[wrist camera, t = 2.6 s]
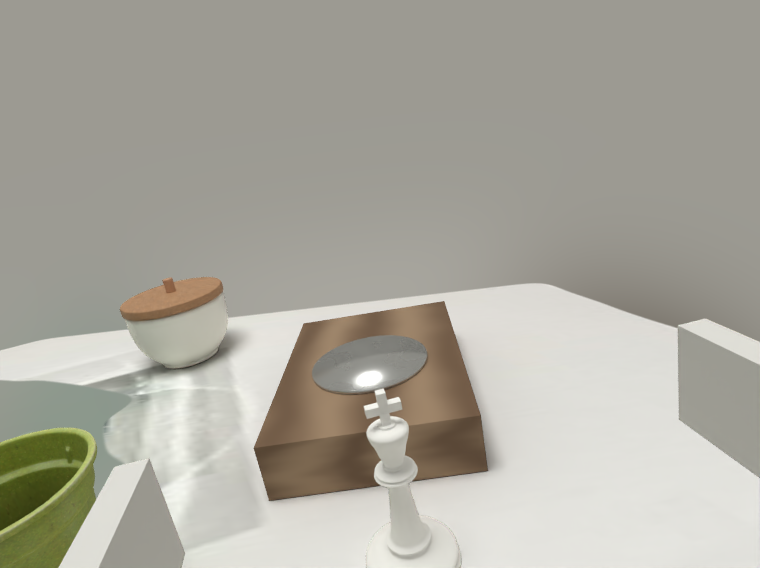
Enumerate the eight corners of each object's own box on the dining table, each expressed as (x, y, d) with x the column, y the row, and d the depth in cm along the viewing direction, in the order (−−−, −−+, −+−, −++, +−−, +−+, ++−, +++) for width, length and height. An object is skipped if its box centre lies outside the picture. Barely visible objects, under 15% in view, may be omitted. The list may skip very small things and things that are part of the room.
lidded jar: (168, 388, 51) (139, 302, 48) (126, 367, 58) (99, 291, 55) (256, 344, 58) (235, 266, 55) (209, 330, 65) (188, 261, 63)
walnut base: (269, 500, 32) (252, 443, 31) (312, 359, 52) (303, 320, 50) (487, 470, 32) (479, 411, 30) (449, 338, 51) (443, 298, 49)
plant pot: (89, 712, 22) (9, 555, 19) (-114, 735, 22) (-218, 586, 20) (175, 540, 31) (129, 416, 28) (28, 559, 31) (-30, 440, 29)
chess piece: (359, 539, 28) (322, 380, 25) (443, 514, 29) (417, 356, 26) (376, 618, 24) (332, 435, 21) (476, 586, 24) (448, 404, 21)
